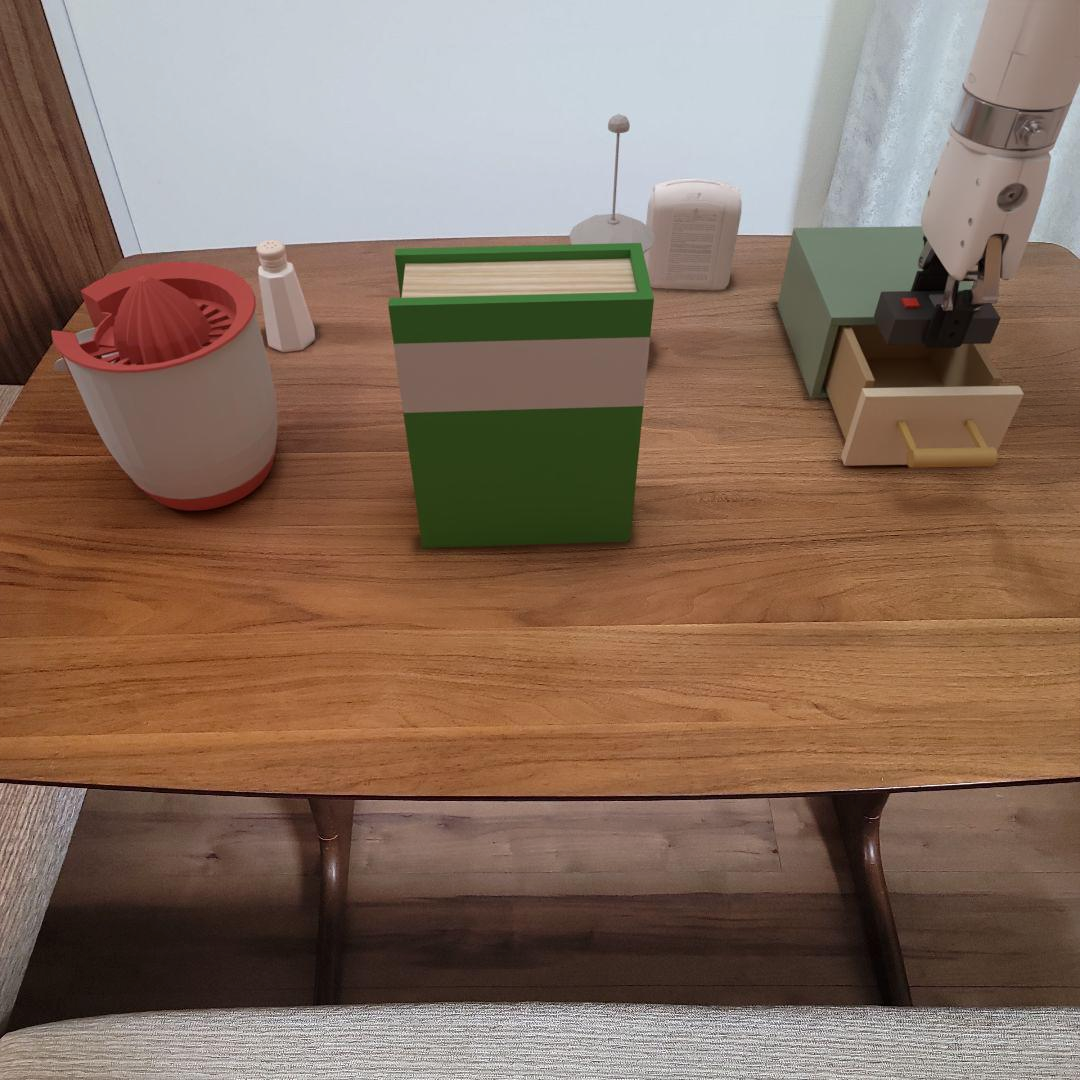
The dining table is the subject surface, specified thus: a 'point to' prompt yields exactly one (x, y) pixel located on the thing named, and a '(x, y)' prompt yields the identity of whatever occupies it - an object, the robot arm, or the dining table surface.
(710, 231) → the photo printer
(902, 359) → the drawer
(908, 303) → the remote
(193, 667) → the dining table surface
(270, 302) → the salt shaker
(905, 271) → the cabinet
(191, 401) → the citrus juicer
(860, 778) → the dining table surface
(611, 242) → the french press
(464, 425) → the hardback book
